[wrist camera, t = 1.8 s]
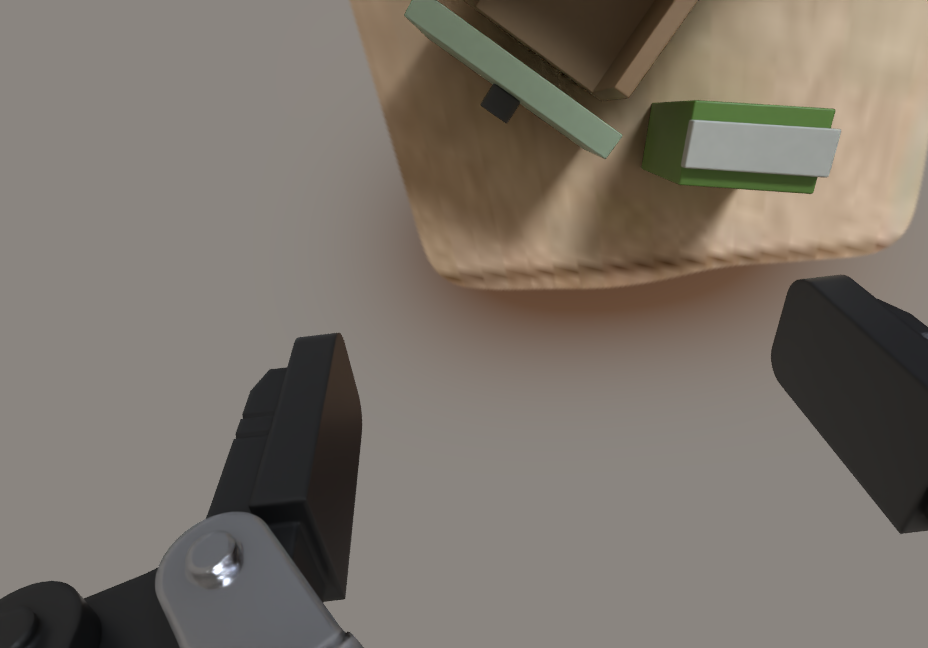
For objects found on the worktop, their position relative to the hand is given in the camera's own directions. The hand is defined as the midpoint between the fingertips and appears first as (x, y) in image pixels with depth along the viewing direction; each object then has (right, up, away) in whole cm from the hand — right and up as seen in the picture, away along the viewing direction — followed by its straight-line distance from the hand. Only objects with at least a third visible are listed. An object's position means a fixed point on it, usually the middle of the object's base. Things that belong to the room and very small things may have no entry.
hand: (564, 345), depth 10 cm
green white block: (+12, +11, +22) cm, 27 cm away
